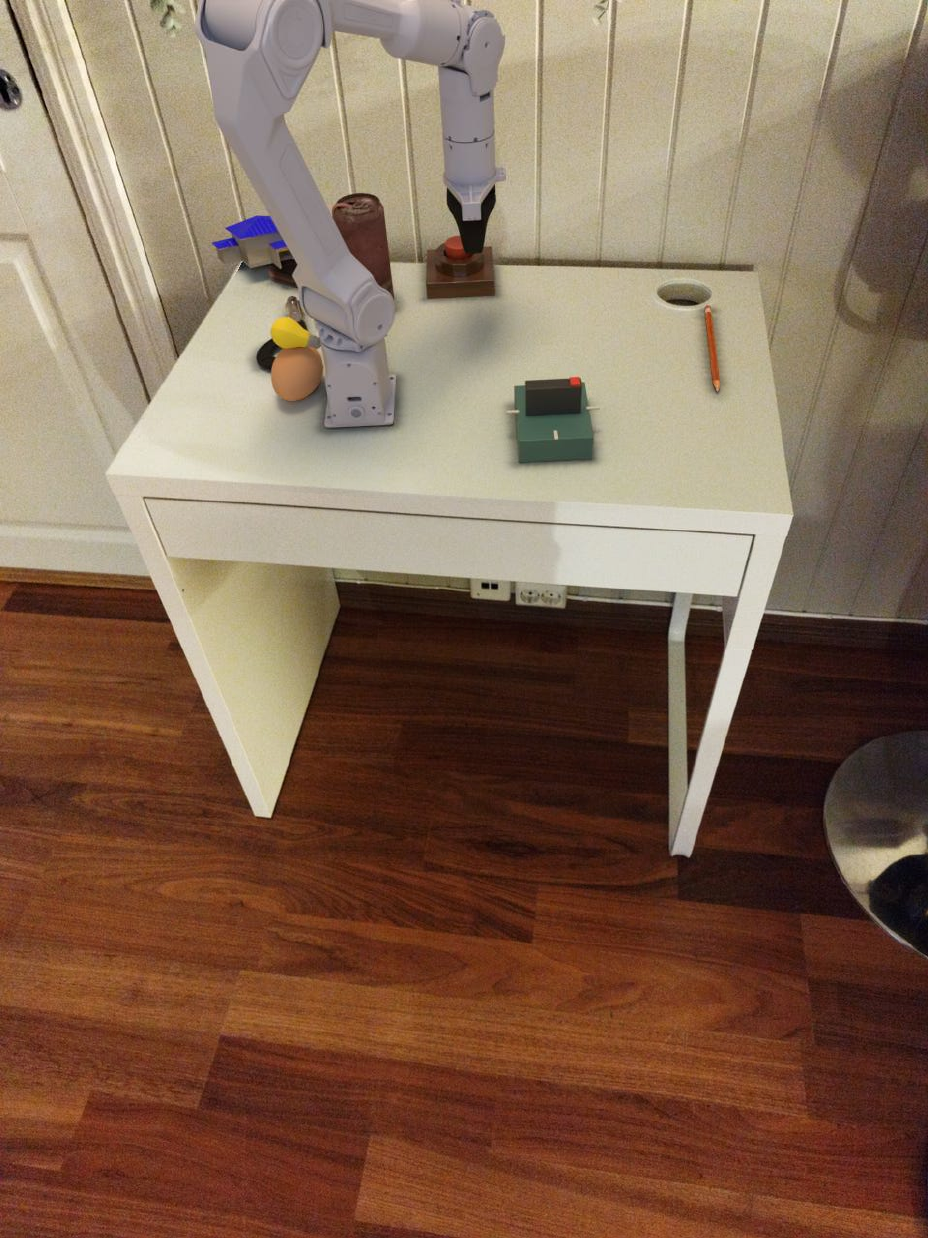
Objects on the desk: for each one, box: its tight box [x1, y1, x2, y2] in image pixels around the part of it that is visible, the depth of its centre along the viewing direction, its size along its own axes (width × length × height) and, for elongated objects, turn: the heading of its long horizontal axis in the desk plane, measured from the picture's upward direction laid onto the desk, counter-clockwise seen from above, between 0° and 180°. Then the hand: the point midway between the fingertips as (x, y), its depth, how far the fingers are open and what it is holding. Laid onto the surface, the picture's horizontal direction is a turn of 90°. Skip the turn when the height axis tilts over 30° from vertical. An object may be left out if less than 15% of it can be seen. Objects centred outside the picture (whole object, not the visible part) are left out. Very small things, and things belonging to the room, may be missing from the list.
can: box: [331, 192, 395, 300], centre depth 120 cm, size 6×6×14 cm
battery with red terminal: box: [524, 376, 582, 416], centre depth 102 cm, size 6×2×4 cm, turn 91°
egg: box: [270, 346, 324, 402], centre depth 111 cm, size 6×6×8 cm
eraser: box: [268, 258, 298, 287], centre depth 129 cm, size 11×4×2 cm, turn 61°
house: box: [210, 215, 294, 269], centre depth 130 cm, size 11×14×6 cm
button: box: [444, 235, 472, 260], centre depth 125 cm, size 4×4×2 cm
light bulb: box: [270, 316, 321, 350], centre depth 108 cm, size 3×6×4 cm
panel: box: [506, 381, 600, 463], centre depth 105 cm, size 10×10×3 cm
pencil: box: [704, 304, 721, 392], centre depth 114 cm, size 1×18×1 cm, turn 175°
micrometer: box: [255, 295, 309, 370], centre depth 120 cm, size 15×7×2 cm, turn 14°
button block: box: [425, 242, 496, 299], centre depth 127 cm, size 9×9×4 cm
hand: (473, 250), depth 113 cm, fingers closed
